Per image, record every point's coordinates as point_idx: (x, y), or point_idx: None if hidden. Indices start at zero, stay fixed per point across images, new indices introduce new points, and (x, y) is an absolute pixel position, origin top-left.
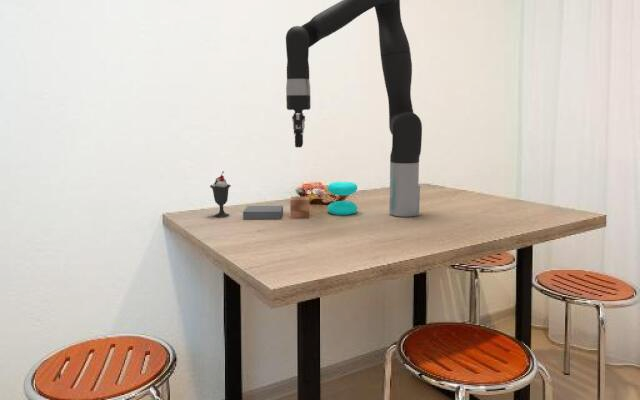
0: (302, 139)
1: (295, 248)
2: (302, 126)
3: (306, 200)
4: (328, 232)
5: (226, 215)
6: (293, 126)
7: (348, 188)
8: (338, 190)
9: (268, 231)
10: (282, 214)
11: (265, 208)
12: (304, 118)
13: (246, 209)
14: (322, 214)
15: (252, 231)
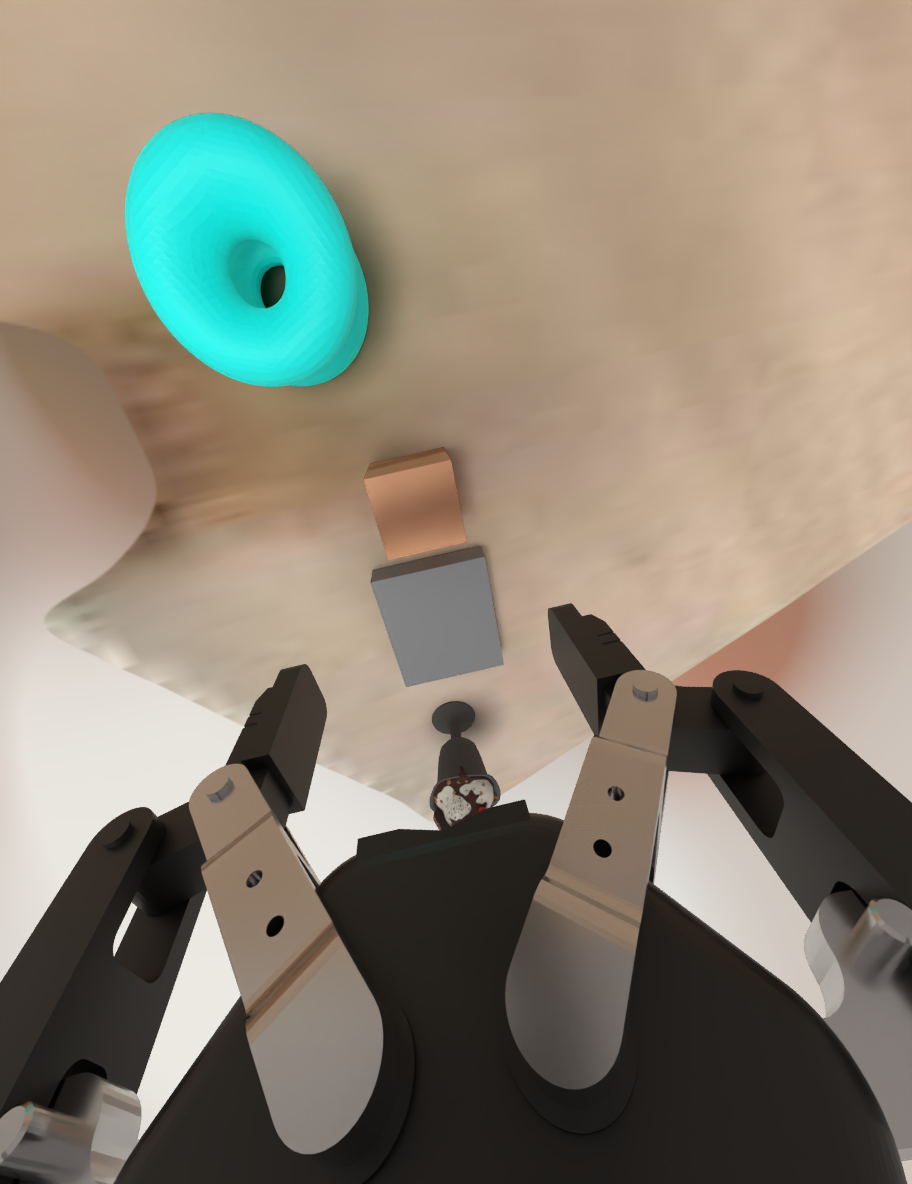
0: (288, 705)
1: (855, 391)
2: (664, 772)
3: (452, 471)
4: (680, 310)
5: (461, 705)
6: (656, 860)
7: (331, 195)
8: (357, 287)
9: (646, 532)
10: (406, 563)
11: (439, 621)
12: (631, 962)
13: (464, 669)
14: (363, 403)
15: (642, 575)
